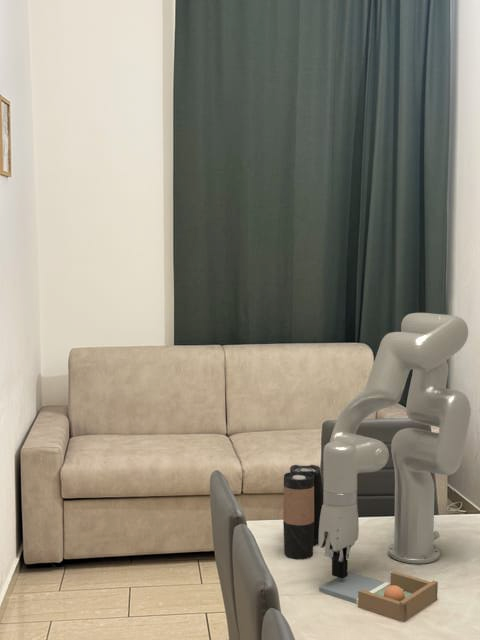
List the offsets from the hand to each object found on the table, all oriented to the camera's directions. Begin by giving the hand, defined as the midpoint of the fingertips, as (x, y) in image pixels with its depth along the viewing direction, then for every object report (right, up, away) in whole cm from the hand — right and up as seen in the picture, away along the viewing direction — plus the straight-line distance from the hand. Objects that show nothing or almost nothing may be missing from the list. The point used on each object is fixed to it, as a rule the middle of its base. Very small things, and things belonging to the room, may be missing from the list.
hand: (339, 575), depth 193 cm
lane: (+7, -3, -6) cm, 10 cm away
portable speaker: (-6, 0, +28) cm, 28 cm away
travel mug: (-8, 0, +19) cm, 20 cm away
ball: (+10, -1, -12) cm, 16 cm away
